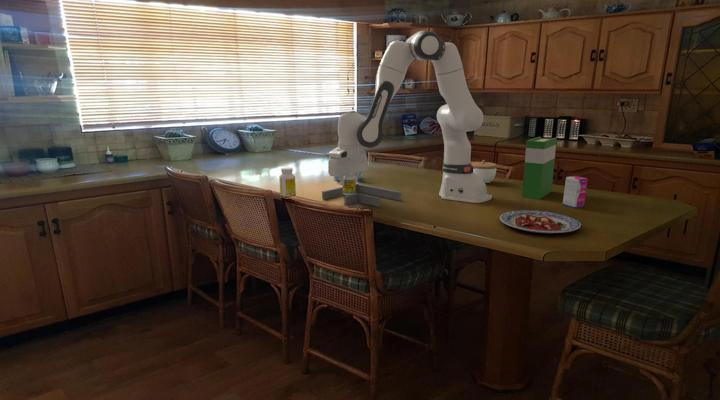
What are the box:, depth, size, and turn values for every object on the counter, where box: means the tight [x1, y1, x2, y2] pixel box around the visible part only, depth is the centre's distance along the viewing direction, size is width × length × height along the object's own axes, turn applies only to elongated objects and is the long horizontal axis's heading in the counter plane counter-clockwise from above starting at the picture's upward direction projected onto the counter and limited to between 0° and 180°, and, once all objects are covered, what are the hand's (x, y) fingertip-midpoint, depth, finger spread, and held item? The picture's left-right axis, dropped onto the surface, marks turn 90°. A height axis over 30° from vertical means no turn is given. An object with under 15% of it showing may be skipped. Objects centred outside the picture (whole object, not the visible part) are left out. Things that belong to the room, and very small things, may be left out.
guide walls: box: [321, 183, 402, 208], centre depth 197 cm, size 25×21×4 cm
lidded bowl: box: [470, 159, 498, 184], centre depth 229 cm, size 13×13×11 cm
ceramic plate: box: [499, 209, 582, 234], centre depth 161 cm, size 26×26×3 cm
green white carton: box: [521, 136, 557, 200], centre depth 203 cm, size 18×7×24 cm, turn 144°
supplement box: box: [562, 175, 589, 209], centre depth 185 cm, size 6×6×12 cm
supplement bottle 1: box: [278, 167, 297, 197], centre depth 200 cm, size 7×7×13 cm
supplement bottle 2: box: [342, 172, 356, 196], centre depth 198 cm, size 5×5×10 cm
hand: (348, 184), depth 198 cm, fingers closed on supplement bottle 2, 5 cm apart
